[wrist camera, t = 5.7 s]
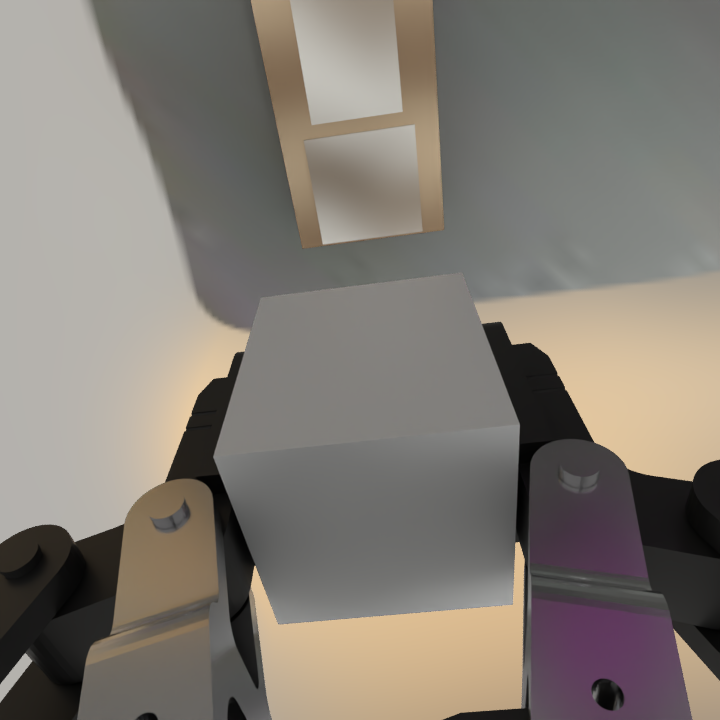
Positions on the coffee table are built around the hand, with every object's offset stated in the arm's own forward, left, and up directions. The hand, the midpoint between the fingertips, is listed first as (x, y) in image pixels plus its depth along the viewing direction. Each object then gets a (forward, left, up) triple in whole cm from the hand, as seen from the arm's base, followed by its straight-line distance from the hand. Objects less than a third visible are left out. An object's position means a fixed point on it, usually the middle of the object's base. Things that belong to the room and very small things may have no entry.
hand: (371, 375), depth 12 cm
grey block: (0, 0, 0) cm, 0 cm away
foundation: (-5, 0, -16) cm, 16 cm away
